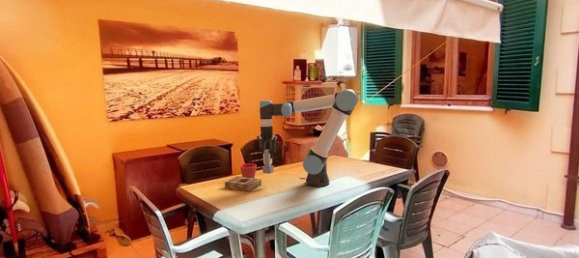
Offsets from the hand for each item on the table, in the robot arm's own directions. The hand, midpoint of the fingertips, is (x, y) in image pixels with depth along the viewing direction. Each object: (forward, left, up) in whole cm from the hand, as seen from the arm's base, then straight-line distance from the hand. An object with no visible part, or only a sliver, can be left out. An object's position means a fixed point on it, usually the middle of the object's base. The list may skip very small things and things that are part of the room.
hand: (267, 163), depth 213 cm
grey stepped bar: (0, 0, -6) cm, 6 cm away
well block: (+15, +6, -15) cm, 22 cm away
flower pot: (+21, -10, -15) cm, 27 cm away
